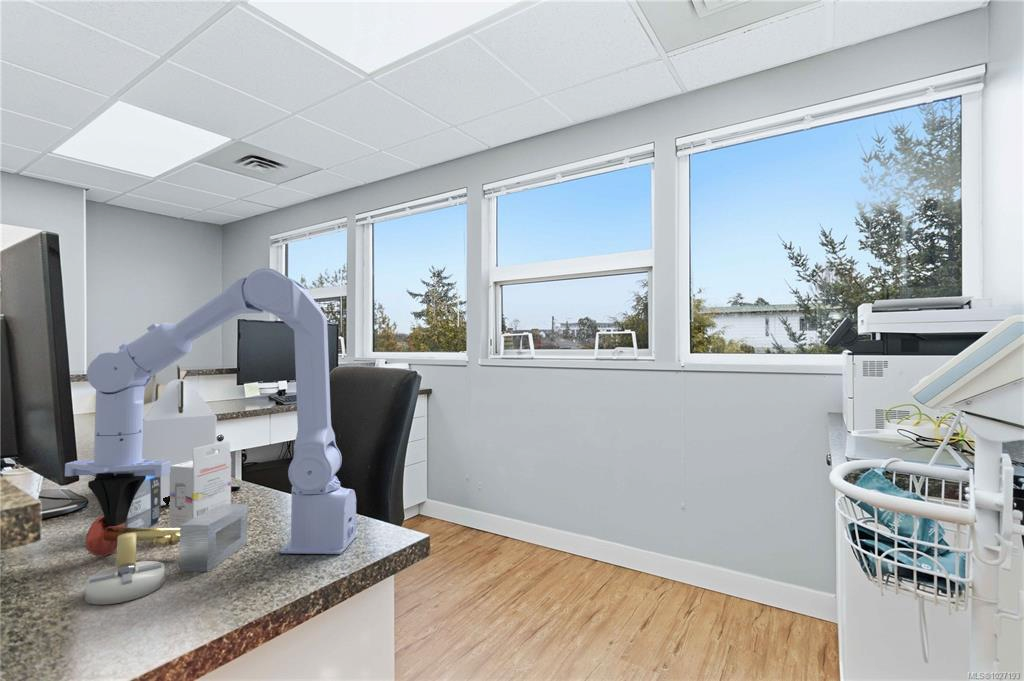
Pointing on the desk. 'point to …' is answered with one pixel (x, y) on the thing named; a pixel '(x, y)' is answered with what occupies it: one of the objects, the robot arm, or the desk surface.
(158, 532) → the hook rod
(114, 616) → the desk surface
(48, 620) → the desk surface
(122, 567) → the wheel spindle
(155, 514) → the label tape box
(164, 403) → the gable box
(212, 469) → the ink cartridge box
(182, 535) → the eye block
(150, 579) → the lock wheel
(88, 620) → the desk surface
